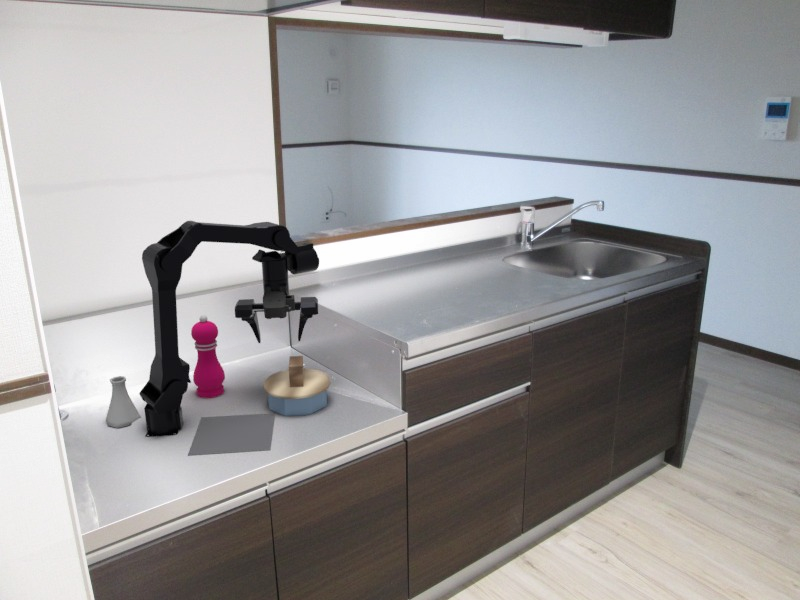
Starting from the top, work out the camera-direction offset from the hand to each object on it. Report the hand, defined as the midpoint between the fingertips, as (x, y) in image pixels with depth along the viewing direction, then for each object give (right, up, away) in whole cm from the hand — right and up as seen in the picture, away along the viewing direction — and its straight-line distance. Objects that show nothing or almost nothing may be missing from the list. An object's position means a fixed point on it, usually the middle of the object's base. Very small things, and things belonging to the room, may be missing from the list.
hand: (279, 341), depth 150 cm
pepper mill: (-17, -13, +3) cm, 22 cm away
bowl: (+5, -14, -2) cm, 15 cm away
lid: (+5, -10, -4) cm, 11 cm away
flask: (-33, -17, -10) cm, 38 cm away
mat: (-6, -19, -16) cm, 25 cm away
